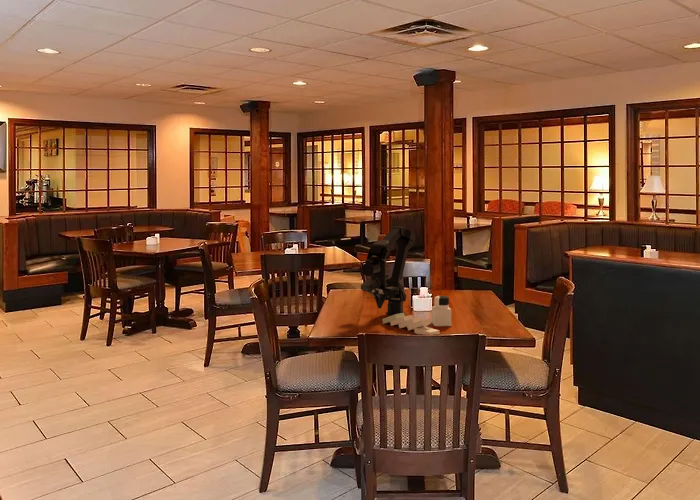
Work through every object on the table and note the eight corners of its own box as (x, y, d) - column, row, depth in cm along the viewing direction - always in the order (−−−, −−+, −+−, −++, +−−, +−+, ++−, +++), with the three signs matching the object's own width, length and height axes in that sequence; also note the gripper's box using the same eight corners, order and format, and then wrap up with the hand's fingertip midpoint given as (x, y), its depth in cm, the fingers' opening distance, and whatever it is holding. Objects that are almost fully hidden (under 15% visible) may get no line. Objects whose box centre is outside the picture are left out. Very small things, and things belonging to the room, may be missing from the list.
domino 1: (389, 321, 261) (403, 316, 254) (398, 319, 264) (412, 314, 257) (391, 326, 260) (404, 321, 253) (400, 324, 263) (413, 319, 256)
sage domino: (382, 319, 265) (395, 314, 258) (390, 317, 268) (403, 312, 261) (383, 323, 264) (396, 319, 257) (392, 322, 267) (405, 317, 260)
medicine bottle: (448, 322, 266) (448, 294, 265) (451, 326, 259) (451, 297, 258) (431, 322, 266) (431, 294, 265) (434, 326, 259) (434, 298, 257)
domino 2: (398, 323, 256) (411, 318, 250) (407, 322, 260) (420, 316, 253) (399, 328, 256) (413, 323, 249) (408, 326, 259) (422, 321, 252)
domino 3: (406, 325, 252) (421, 320, 245) (415, 323, 255) (430, 318, 248) (408, 330, 252) (422, 325, 245) (417, 328, 255) (431, 323, 248)
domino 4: (414, 328, 249) (430, 332, 242) (423, 326, 252) (439, 330, 245) (414, 333, 249) (430, 337, 242) (423, 331, 252) (439, 335, 245)
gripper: (351, 272, 270) (351, 307, 272) (379, 277, 255) (380, 314, 257) (370, 269, 277) (370, 303, 279) (399, 274, 262) (399, 310, 264)
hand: (379, 308), depth 270 cm, fingers closed
